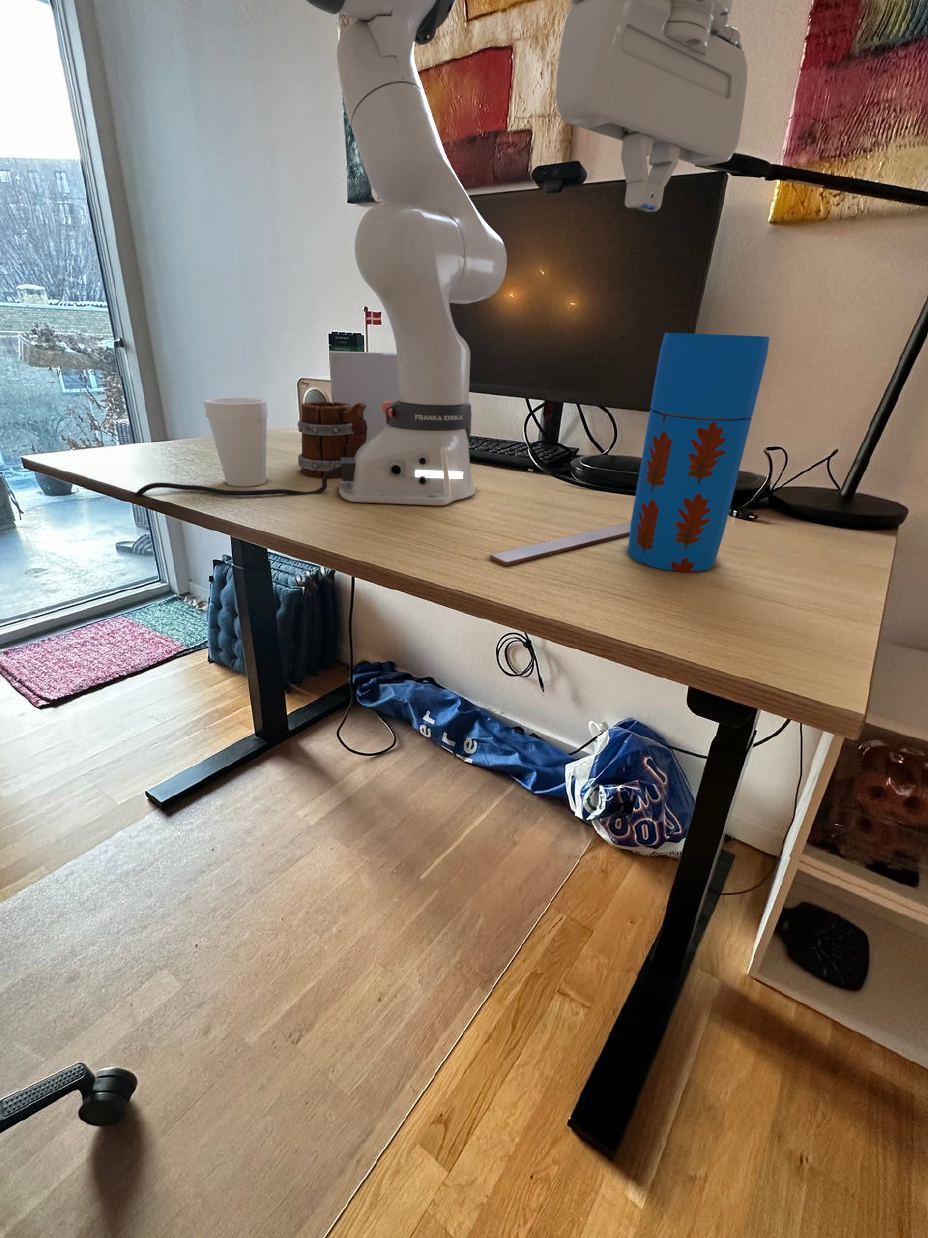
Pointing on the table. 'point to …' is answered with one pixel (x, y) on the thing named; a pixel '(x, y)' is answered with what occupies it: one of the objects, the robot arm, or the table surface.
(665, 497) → the thermos
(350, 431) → the mug
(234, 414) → the foam cup
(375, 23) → the robot arm
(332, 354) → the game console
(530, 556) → the ruler
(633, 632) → the table surface
